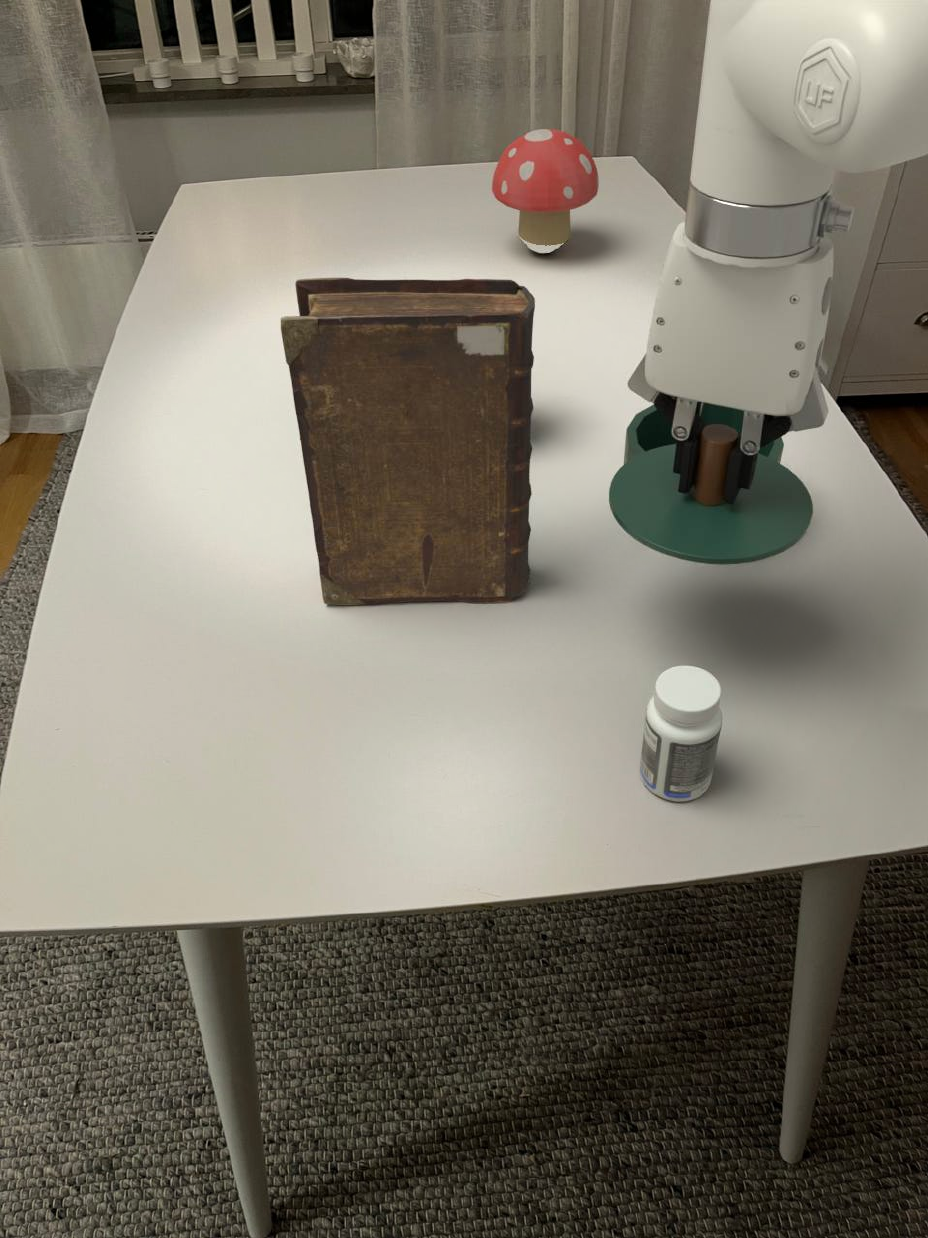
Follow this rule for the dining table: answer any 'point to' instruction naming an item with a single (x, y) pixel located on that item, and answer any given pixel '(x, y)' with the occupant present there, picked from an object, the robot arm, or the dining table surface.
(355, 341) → the book
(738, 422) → the tin
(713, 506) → the tin lid
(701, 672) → the pill bottle
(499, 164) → the decorative mushroom
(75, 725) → the dining table surface
